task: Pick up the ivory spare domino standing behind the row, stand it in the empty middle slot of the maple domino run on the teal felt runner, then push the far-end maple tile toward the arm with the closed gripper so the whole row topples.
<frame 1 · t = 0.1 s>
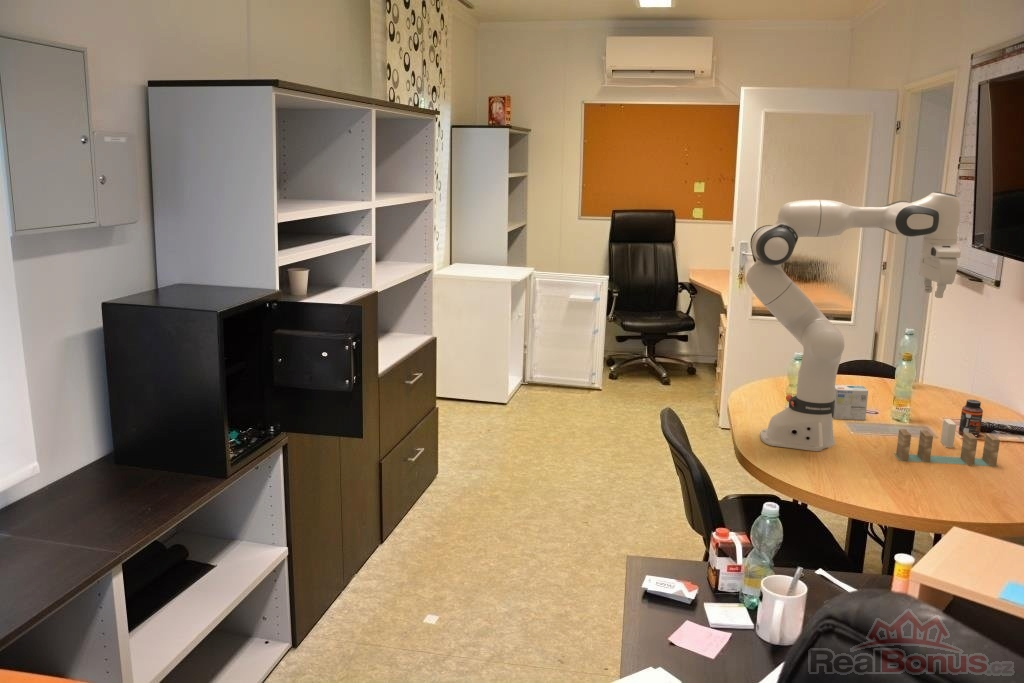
hand: (933, 295, 239), 48 cm above the table, fingers open, 8 cm apart
light bulb box: (846, 417, 279), on the table
domino 5: (902, 457, 240), resting on felt runner
domino 4: (923, 458, 240), resting on felt runner
domino 2: (967, 461, 238), resting on felt runner
spare domino: (946, 446, 251), on the table
felt runner: (944, 461, 239), on the table
domino 1: (989, 462, 237), resting on felt runner
supplement bottle: (968, 434, 262), on the table
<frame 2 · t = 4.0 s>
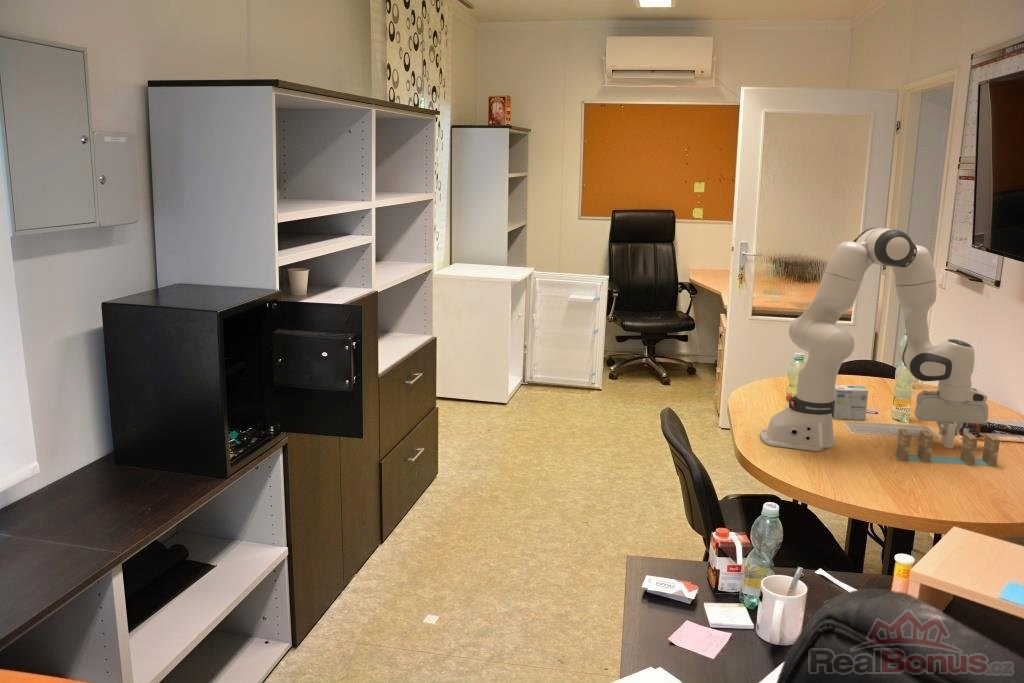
hand: (948, 435, 250), 4 cm above the table, fingers closed on spare domino, 2 cm apart
spare domino: (946, 446, 251), on the table, touching gripper
everything else where it was.
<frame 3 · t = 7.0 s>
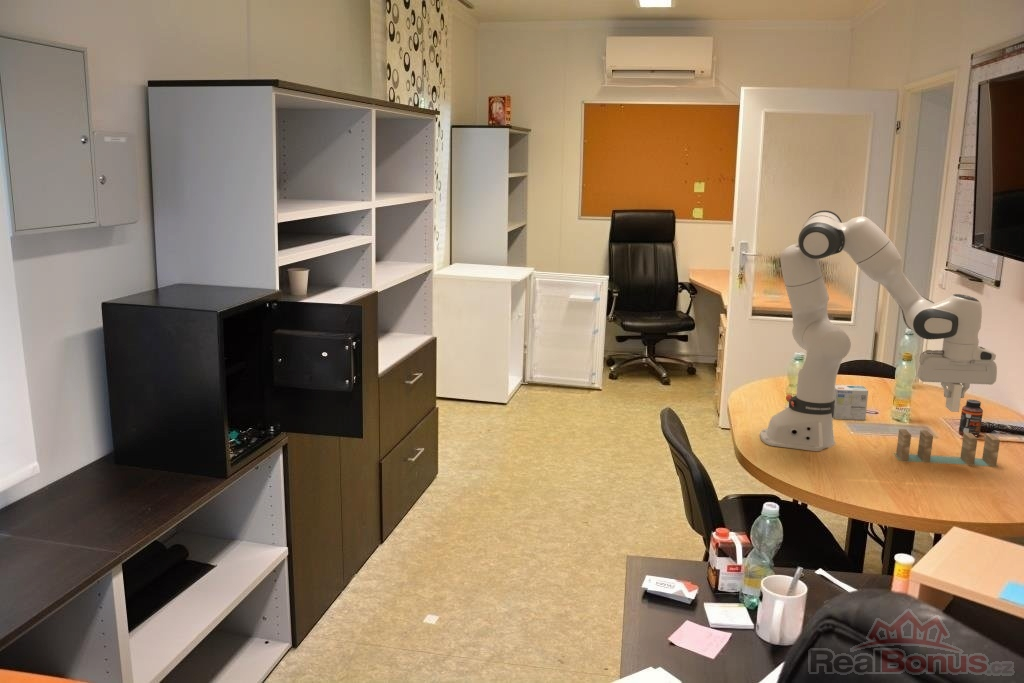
hand: (953, 397, 234), 20 cm above the table, fingers closed on spare domino
spare domino: (952, 409, 235), point 16 cm above the table, touching gripper
everything else where it was.
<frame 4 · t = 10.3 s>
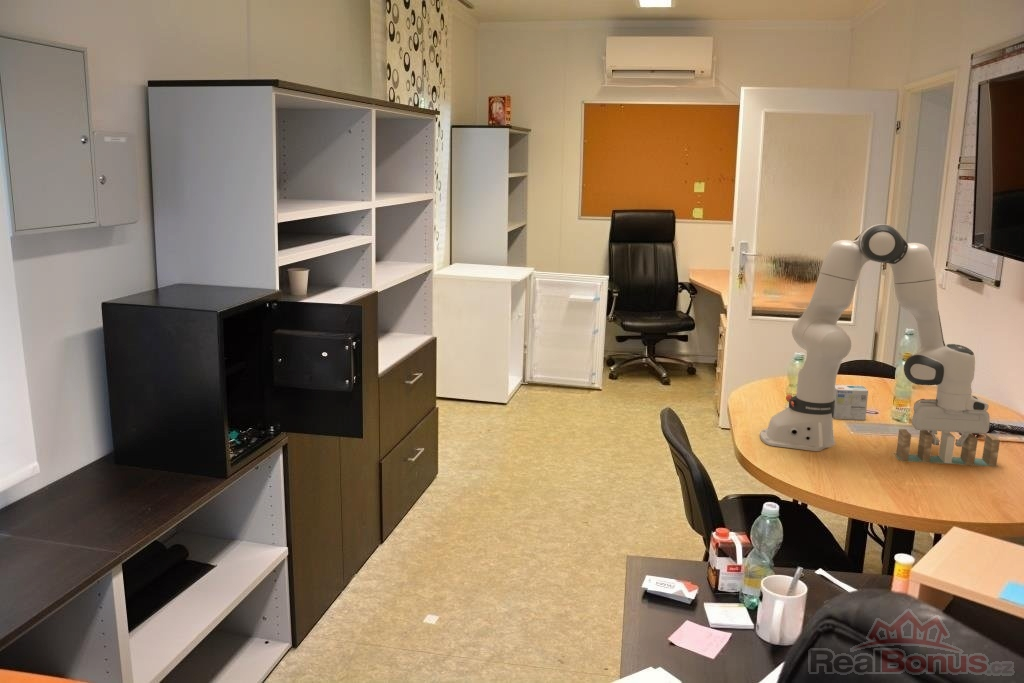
hand: (947, 445, 238), 5 cm above the table, fingers open, 5 cm apart
domino 4: (923, 458, 240), resting on felt runner, touching gripper
domino 2: (967, 461, 238), resting on felt runner, touching gripper
spare domino: (944, 459, 239), resting on felt runner
everything else where it was.
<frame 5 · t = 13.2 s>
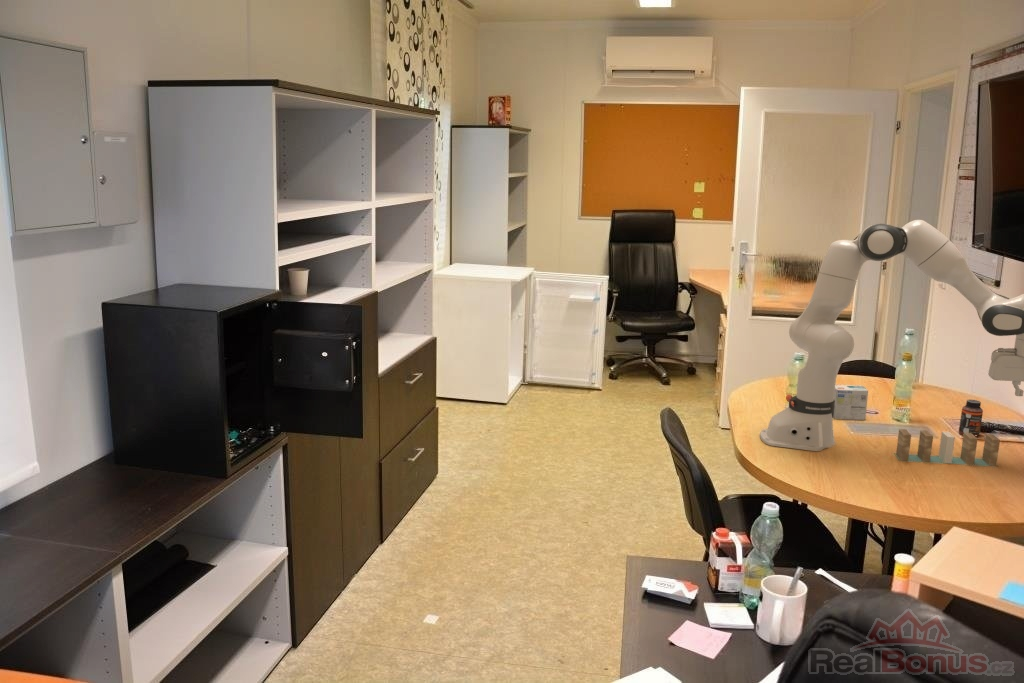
domino 4: (923, 458, 240), resting on felt runner
domino 2: (967, 461, 238), resting on felt runner
everything else where it was.
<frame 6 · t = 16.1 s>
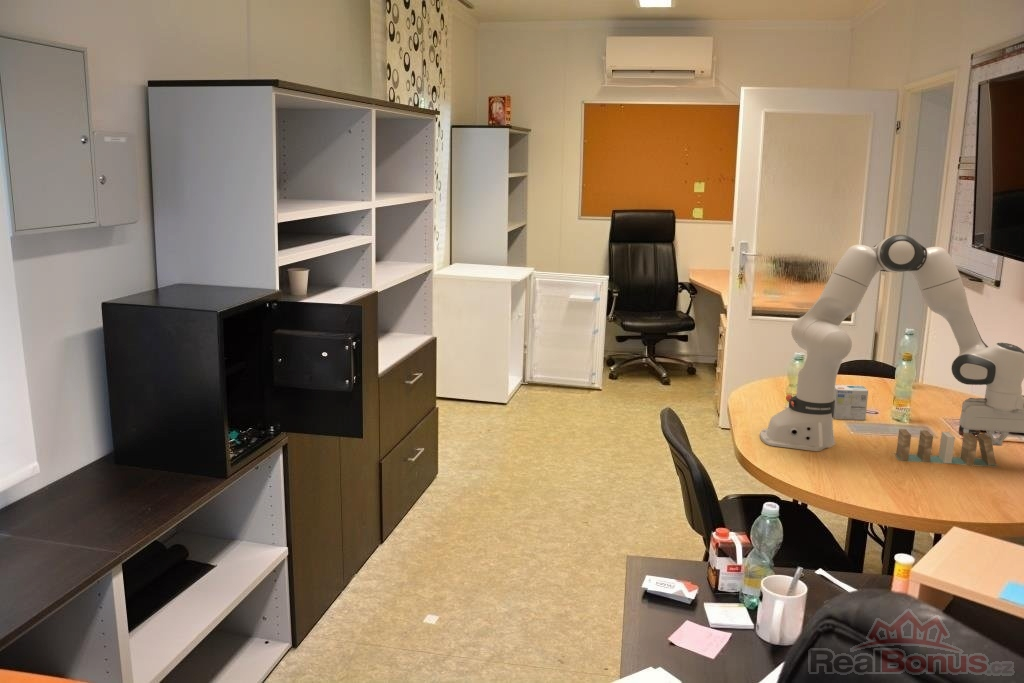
hand: (995, 445, 235), 6 cm above the table, fingers closed
domino 1: (989, 461, 237), point 1 cm above the table, tilted 17°, touching felt runner
everything else where it was.
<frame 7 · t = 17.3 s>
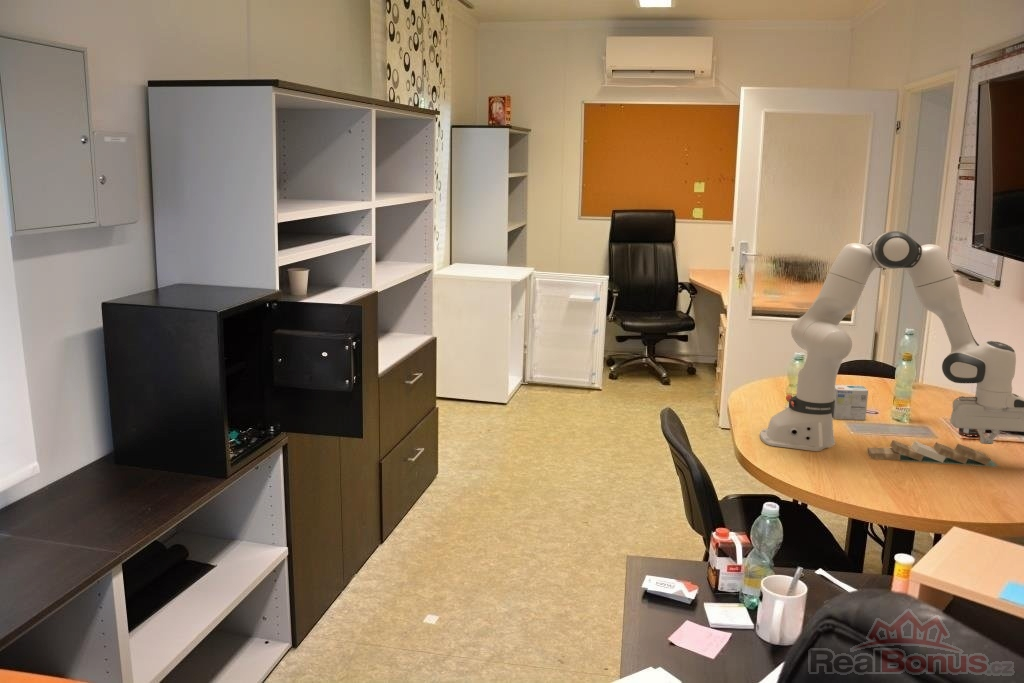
hand: (986, 443, 236), 6 cm above the table, fingers closed
domino 5: (897, 453, 240), point 1 cm above the table, tilted 93°, touching domino 4, felt runner
domino 4: (919, 455, 239), point 1 cm above the table, tilted 71°, touching domino 5, felt runner, spare domino
domino 2: (963, 458, 238), point 1 cm above the table, tilted 71°, touching domino 1, felt runner, spare domino
spare domino: (941, 456, 239), point 1 cm above the table, tilted 71°, touching domino 2, domino 4, felt runner
domino 1: (985, 459, 237), point 1 cm above the table, tilted 71°, touching domino 2, felt runner
everything else where it was.
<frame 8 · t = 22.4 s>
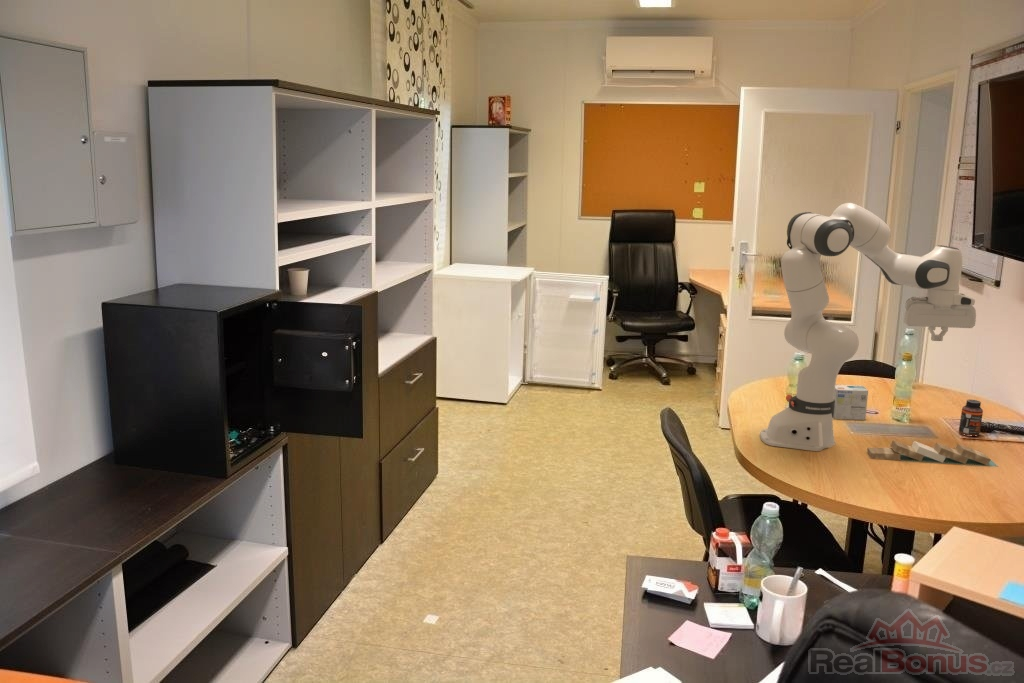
hand: (936, 340, 255), 31 cm above the table, fingers closed
nothing on the table moved.
at the end: domino 5 tilted 93°; spare domino inside the target area (1.1 cm from its centre), point 1.3 cm above the table; spare domino tilted 71° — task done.
